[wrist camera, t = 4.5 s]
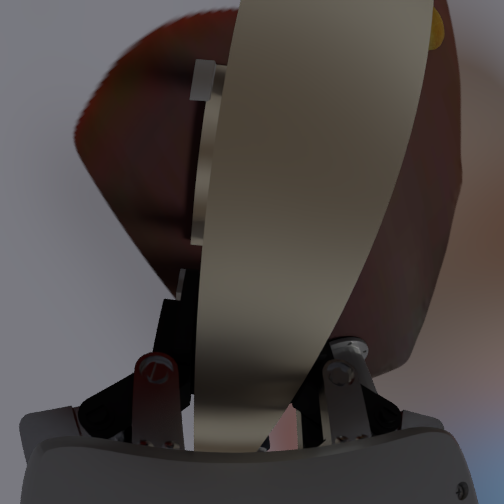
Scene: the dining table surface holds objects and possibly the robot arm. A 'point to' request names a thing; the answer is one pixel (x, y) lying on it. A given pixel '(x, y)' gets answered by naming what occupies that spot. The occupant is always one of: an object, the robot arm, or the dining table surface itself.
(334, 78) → the rail
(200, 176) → the rack
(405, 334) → the dining table surface
